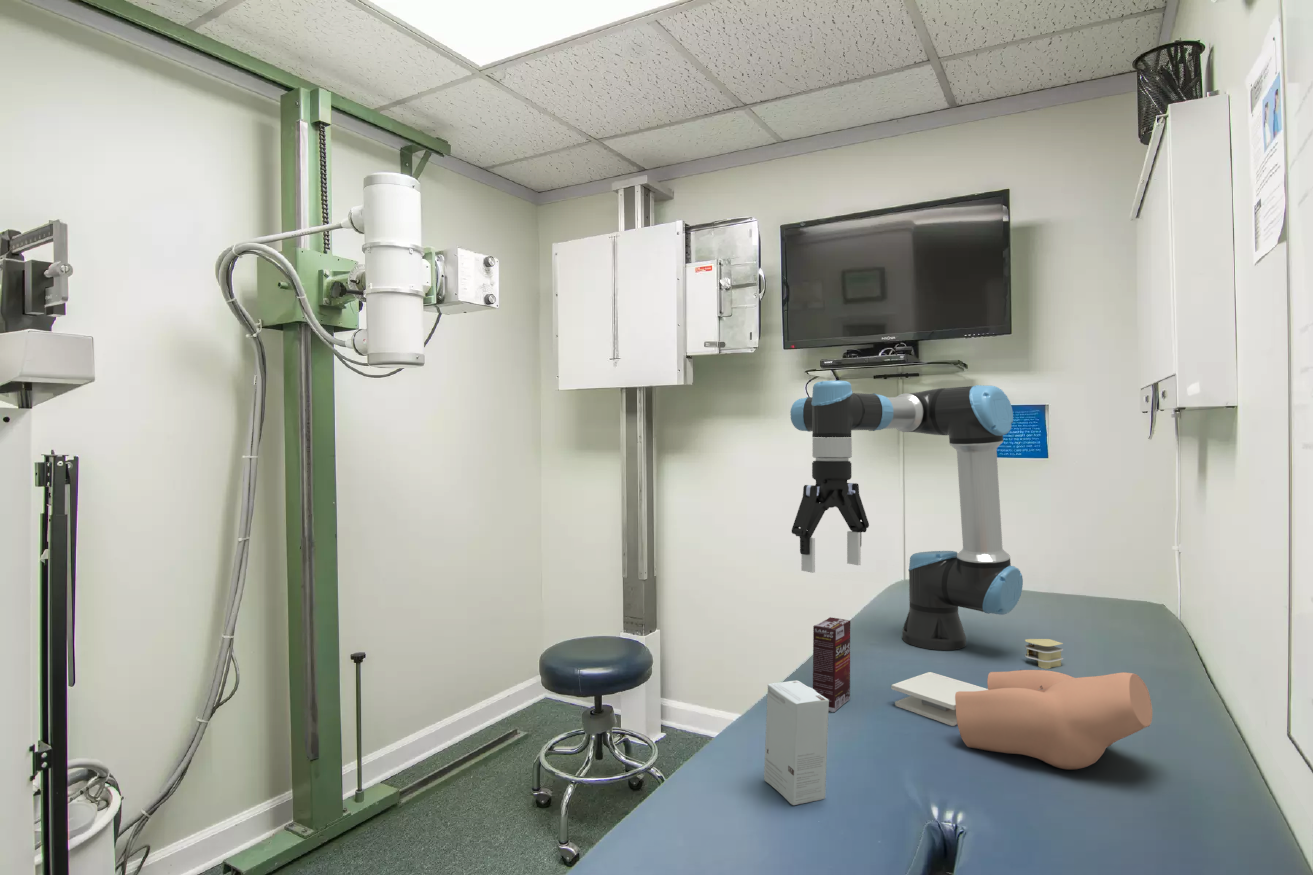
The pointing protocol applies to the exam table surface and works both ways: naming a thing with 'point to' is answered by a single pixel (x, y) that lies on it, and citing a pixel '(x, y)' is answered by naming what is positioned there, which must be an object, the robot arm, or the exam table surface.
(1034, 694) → the medical training model
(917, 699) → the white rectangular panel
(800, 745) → the skincare box
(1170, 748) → the exam table surface
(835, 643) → the supplement box
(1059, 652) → the beige layered block
